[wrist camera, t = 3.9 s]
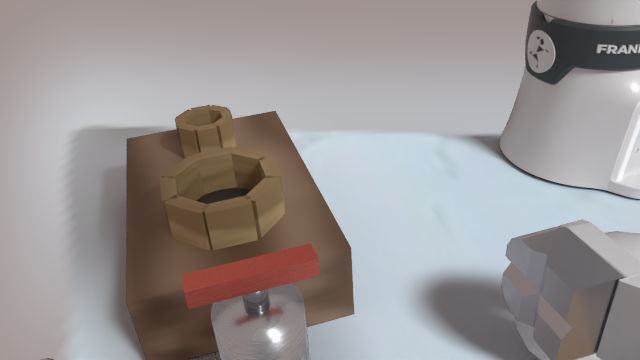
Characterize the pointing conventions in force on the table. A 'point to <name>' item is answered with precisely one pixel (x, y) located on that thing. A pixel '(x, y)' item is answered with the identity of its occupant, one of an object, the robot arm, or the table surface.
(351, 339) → the table surface
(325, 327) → the table surface
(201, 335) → the manifold block
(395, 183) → the table surface
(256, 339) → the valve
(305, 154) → the table surface
